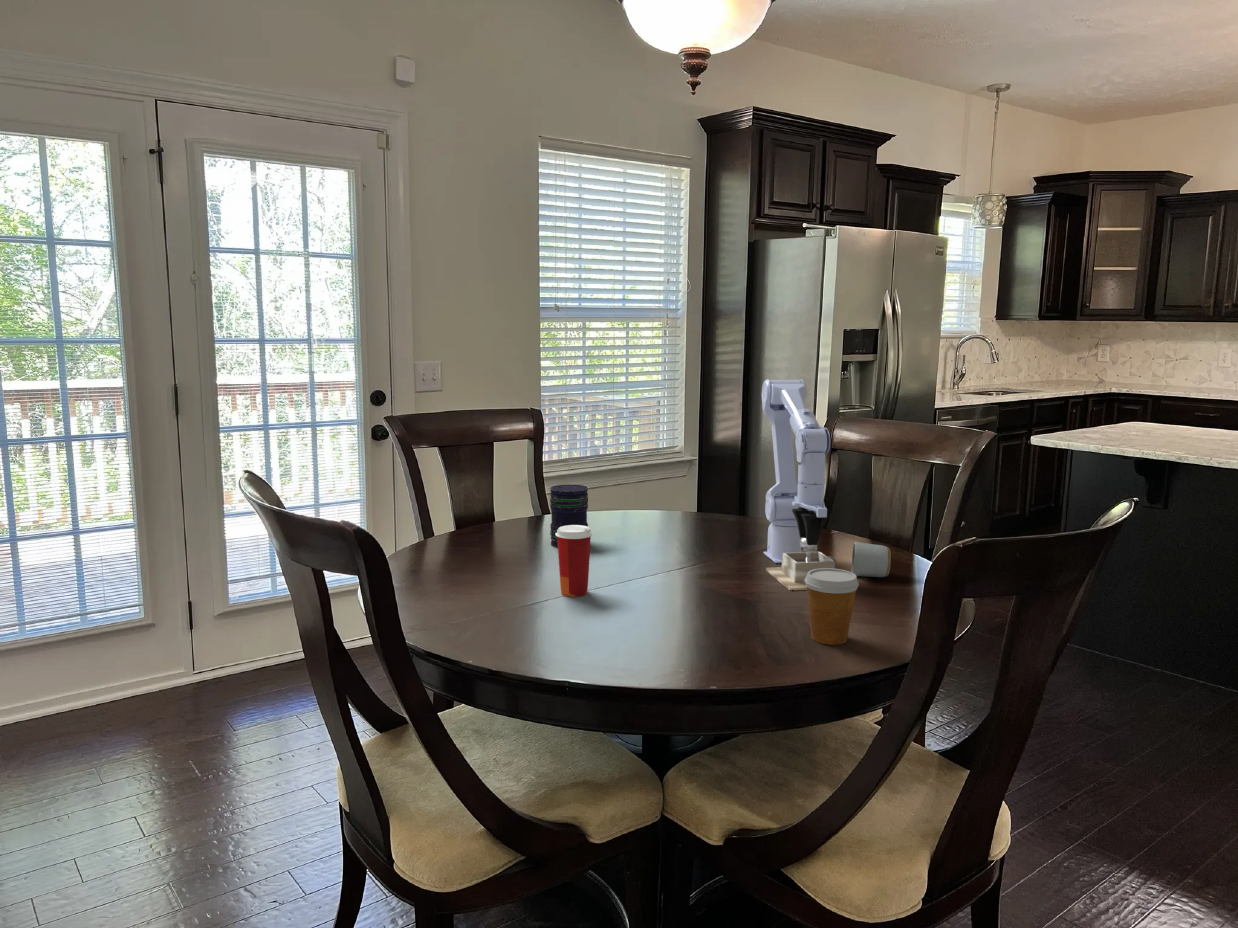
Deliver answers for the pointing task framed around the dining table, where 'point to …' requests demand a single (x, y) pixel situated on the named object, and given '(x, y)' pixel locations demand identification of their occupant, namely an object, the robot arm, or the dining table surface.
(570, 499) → the storage jar
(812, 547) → the plunger
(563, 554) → the paper cup
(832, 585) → the disposable coffee cup
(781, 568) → the base
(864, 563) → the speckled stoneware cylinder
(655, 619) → the dining table surface
